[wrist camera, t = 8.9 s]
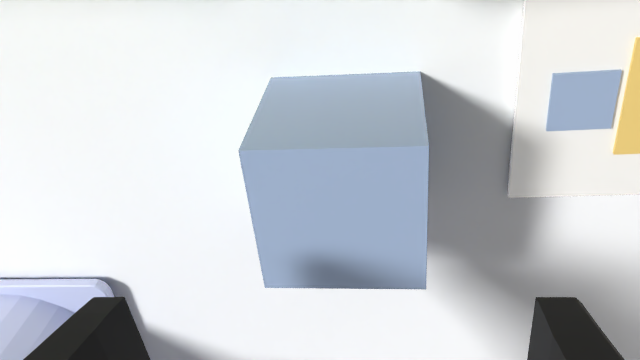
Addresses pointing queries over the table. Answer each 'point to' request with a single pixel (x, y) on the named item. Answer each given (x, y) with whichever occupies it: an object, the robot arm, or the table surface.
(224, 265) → the table surface
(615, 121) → the page
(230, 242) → the table surface
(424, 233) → the blue cube
